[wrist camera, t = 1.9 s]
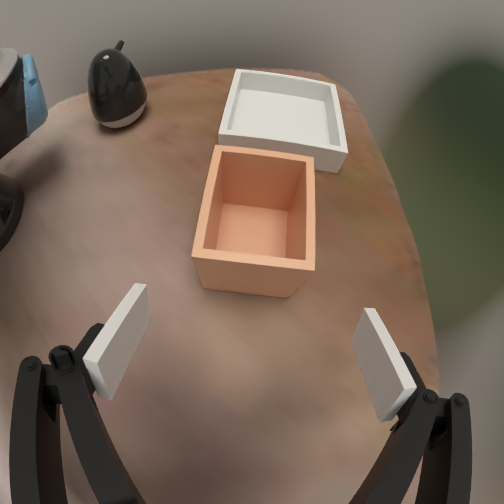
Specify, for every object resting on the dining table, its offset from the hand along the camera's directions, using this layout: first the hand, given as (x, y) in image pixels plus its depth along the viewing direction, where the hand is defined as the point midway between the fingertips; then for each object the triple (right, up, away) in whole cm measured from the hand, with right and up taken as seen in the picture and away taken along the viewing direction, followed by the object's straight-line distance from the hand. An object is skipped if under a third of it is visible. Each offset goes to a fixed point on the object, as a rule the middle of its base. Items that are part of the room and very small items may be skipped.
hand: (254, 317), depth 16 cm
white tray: (+5, +25, +27) cm, 37 cm away
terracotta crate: (0, +4, +19) cm, 19 cm away
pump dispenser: (-23, +28, +26) cm, 45 cm away
